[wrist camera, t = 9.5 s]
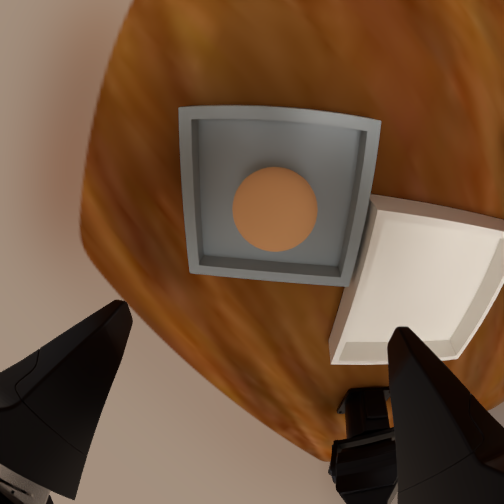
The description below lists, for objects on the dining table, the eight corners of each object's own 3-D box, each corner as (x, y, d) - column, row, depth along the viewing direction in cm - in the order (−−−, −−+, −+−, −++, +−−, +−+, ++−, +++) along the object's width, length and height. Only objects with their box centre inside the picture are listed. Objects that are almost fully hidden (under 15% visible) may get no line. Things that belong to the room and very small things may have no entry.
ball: (308, 230, 20) (315, 271, 15) (238, 225, 20) (226, 265, 16) (316, 162, 17) (328, 185, 13) (239, 156, 17) (224, 178, 13)
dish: (449, 339, 25) (457, 358, 23) (328, 340, 26) (330, 364, 24) (505, 220, 17) (523, 236, 15) (365, 193, 18) (377, 209, 16)
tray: (344, 269, 22) (348, 286, 20) (197, 257, 23) (189, 273, 21) (370, 117, 16) (381, 120, 14) (190, 105, 17) (178, 107, 15)
